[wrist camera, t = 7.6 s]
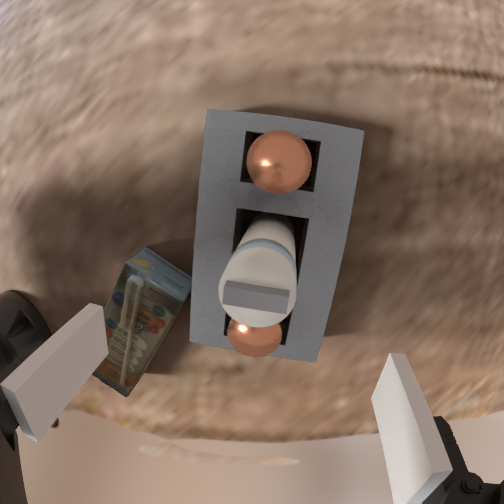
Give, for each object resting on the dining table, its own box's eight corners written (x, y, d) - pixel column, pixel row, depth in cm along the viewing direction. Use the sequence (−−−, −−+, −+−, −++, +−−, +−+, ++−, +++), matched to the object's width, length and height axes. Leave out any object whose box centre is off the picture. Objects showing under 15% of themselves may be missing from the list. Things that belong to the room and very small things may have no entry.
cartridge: (245, 253, 36) (211, 328, 21) (250, 207, 34) (217, 255, 19) (291, 260, 35) (289, 341, 20) (298, 214, 34) (304, 268, 19)
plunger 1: (252, 181, 33) (243, 189, 26) (258, 131, 31) (250, 126, 24) (303, 188, 32) (306, 198, 26) (310, 138, 31) (315, 135, 24)
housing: (200, 319, 39) (189, 341, 34) (219, 114, 31) (207, 109, 27) (313, 338, 38) (315, 362, 33) (353, 133, 30) (364, 130, 26)
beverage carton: (202, 280, 38) (185, 305, 31) (143, 374, 44) (125, 402, 38) (146, 243, 37) (120, 261, 31) (99, 344, 43) (77, 369, 37)
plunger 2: (236, 319, 38) (225, 352, 31) (240, 279, 36) (229, 307, 30) (279, 326, 37) (276, 360, 31) (287, 286, 36) (285, 316, 29)
